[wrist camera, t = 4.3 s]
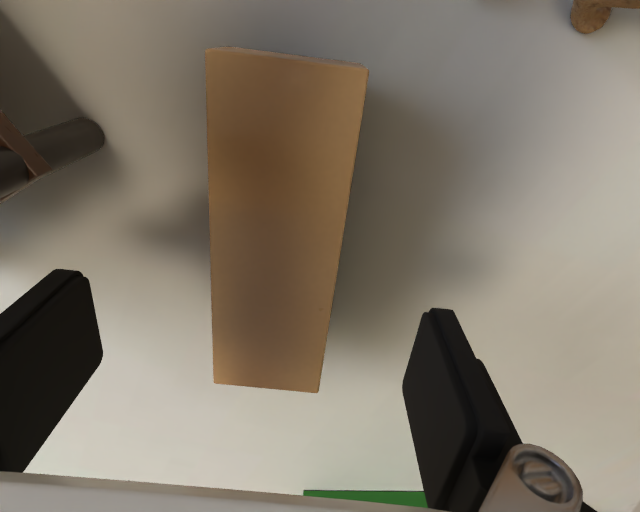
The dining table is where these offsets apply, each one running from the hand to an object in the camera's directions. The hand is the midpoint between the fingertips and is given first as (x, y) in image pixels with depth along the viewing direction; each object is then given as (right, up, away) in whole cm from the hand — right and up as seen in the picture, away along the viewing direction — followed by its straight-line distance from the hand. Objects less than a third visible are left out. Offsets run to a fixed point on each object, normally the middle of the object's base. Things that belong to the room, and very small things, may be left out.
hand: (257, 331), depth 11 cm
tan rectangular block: (0, +4, +7) cm, 8 cm away
